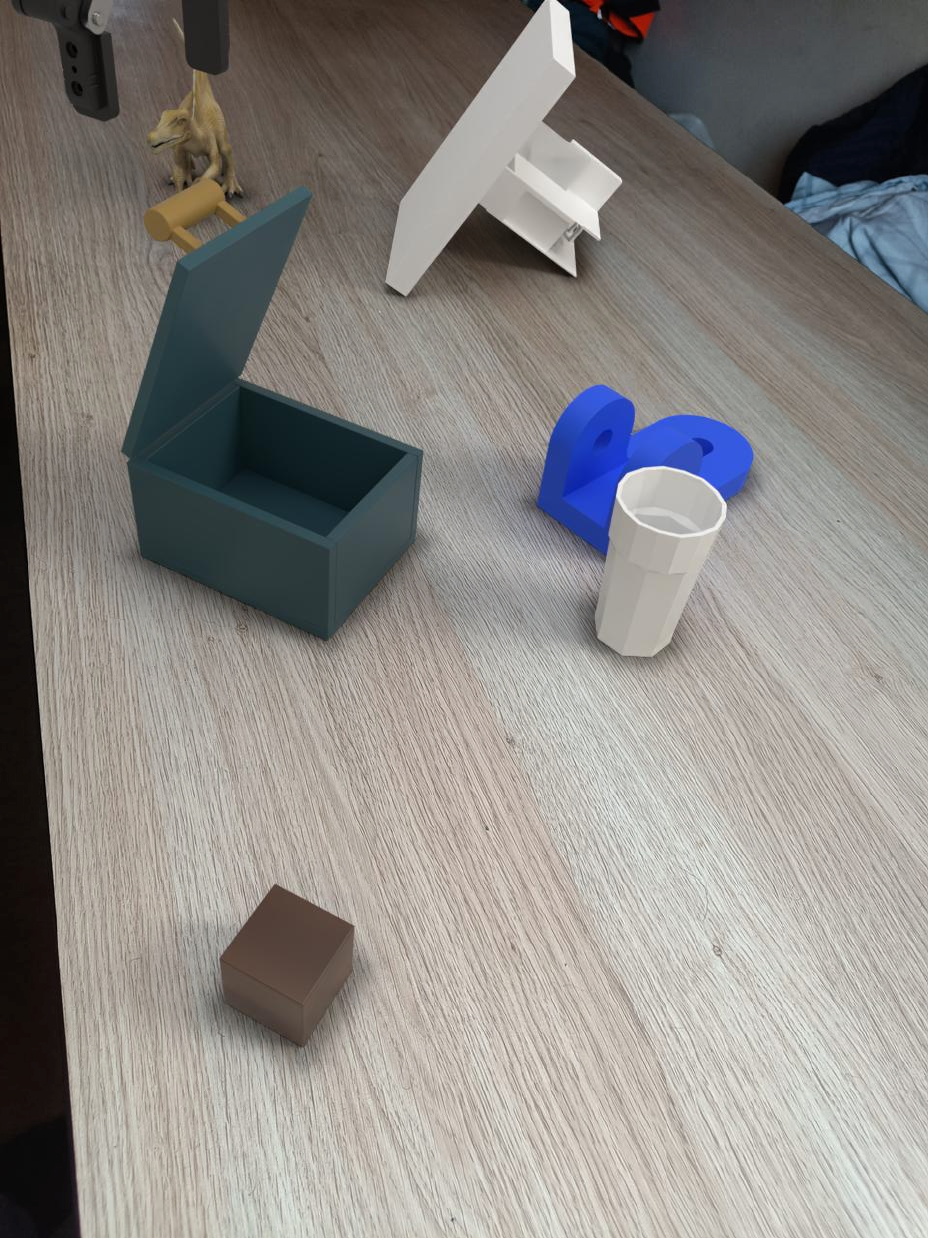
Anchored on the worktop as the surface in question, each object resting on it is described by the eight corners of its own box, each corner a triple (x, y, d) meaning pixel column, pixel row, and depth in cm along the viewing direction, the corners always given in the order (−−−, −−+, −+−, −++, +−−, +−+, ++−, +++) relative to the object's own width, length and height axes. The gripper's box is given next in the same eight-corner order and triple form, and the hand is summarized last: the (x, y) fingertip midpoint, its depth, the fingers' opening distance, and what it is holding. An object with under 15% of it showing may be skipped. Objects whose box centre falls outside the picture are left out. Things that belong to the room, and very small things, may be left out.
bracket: (620, 566, 75) (649, 464, 69) (536, 505, 79) (556, 403, 73) (766, 474, 85) (803, 377, 79) (685, 424, 89) (714, 327, 82)
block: (303, 1048, 49) (302, 1006, 46) (224, 1003, 50) (218, 958, 47) (352, 970, 52) (355, 925, 49) (276, 929, 53) (274, 882, 50)
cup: (598, 583, 74) (632, 454, 66) (690, 614, 73) (736, 486, 65) (570, 645, 69) (603, 514, 62) (668, 679, 68) (714, 550, 60)
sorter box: (415, 540, 75) (424, 450, 70) (327, 641, 67) (329, 549, 62) (242, 467, 79) (237, 376, 73) (140, 555, 71) (126, 461, 66)
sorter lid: (313, 192, 61) (243, 137, 61) (188, 270, 54) (108, 206, 54) (241, 374, 73) (182, 328, 73) (130, 459, 65) (64, 407, 65)
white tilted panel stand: (405, 177, 114) (548, -25, 100) (523, 264, 121) (673, 86, 107) (385, 282, 98) (553, 57, 84) (523, 376, 104) (700, 183, 90)
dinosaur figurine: (154, 246, 101) (138, 98, 91) (179, 135, 119) (168, 2, 110) (237, 250, 102) (229, 104, 92) (249, 139, 120) (244, 9, 111)
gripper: (154, -360, 47) (182, 41, 58) (-106, -372, 37) (-12, 111, 49) (299, -334, 45) (299, 75, 56) (65, -339, 35) (121, 155, 47)
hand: (155, 91), depth 52 cm, fingers open, 8 cm apart
